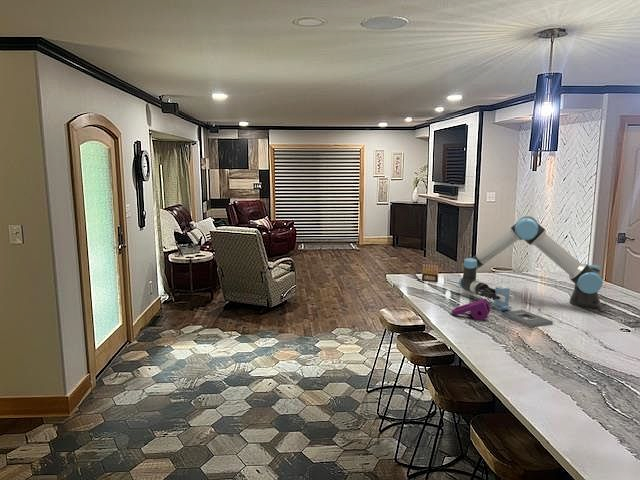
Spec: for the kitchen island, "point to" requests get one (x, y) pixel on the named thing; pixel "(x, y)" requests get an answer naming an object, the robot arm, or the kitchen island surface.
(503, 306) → the block
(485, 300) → the mounting bracket
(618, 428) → the kitchen island surface
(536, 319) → the plate
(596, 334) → the kitchen island surface
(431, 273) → the ammunition clip
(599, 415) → the kitchen island surface
